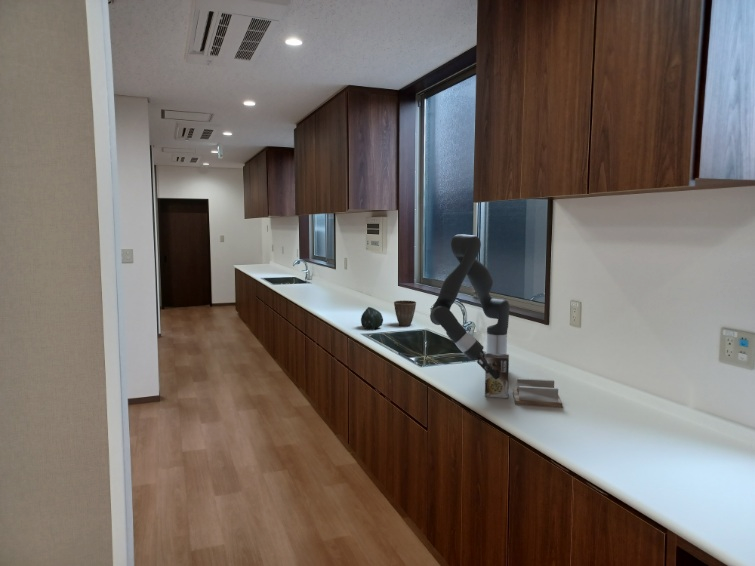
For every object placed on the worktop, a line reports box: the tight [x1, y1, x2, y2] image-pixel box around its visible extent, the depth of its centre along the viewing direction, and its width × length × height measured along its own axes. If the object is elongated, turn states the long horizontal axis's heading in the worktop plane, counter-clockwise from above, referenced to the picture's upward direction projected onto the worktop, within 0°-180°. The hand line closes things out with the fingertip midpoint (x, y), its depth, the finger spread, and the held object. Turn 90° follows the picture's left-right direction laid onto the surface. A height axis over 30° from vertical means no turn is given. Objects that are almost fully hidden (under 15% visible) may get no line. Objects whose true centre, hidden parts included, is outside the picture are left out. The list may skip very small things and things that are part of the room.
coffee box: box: [484, 353, 510, 399], centre depth 206 cm, size 9×6×16 cm
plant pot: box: [393, 300, 417, 327], centre depth 351 cm, size 15×15×16 cm
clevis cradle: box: [512, 377, 563, 408], centre depth 201 cm, size 14×17×6 cm
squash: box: [360, 306, 384, 330], centre depth 342 cm, size 14×15×15 cm
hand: (497, 374), depth 206 cm, fingers open, 8 cm apart
